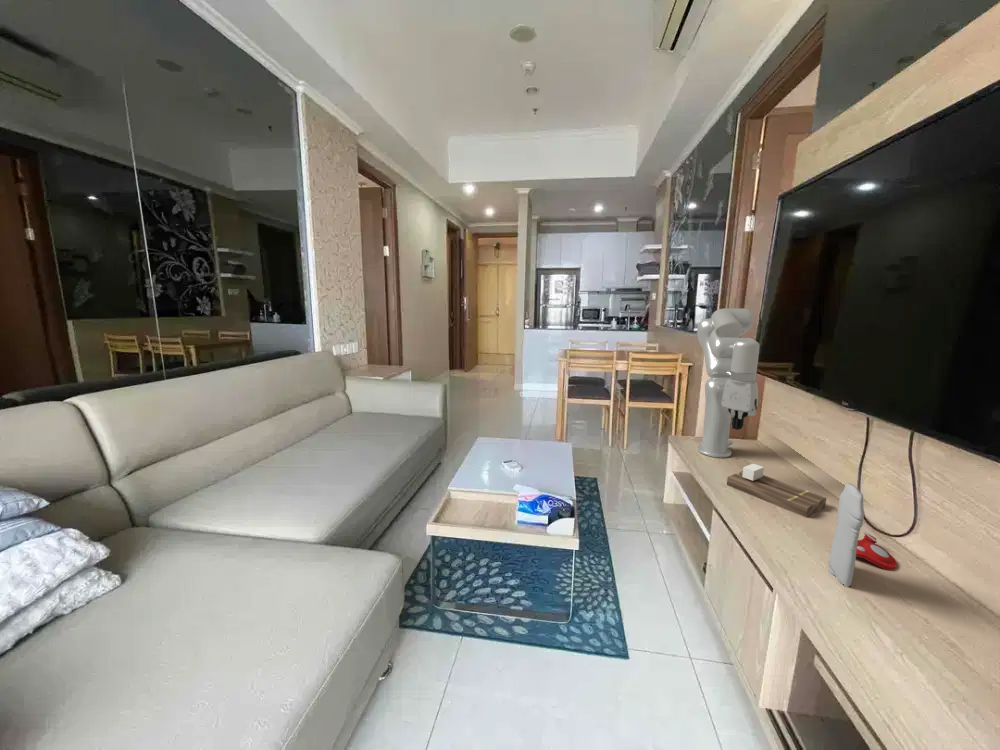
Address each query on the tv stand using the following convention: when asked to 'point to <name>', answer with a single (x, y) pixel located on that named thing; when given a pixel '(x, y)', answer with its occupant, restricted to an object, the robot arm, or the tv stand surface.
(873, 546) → the tracker holder
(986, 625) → the tv stand surface
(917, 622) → the tv stand surface
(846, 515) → the tall pale column
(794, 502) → the fader console
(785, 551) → the tv stand surface
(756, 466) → the fader knob
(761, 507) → the tv stand surface
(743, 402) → the robot arm
